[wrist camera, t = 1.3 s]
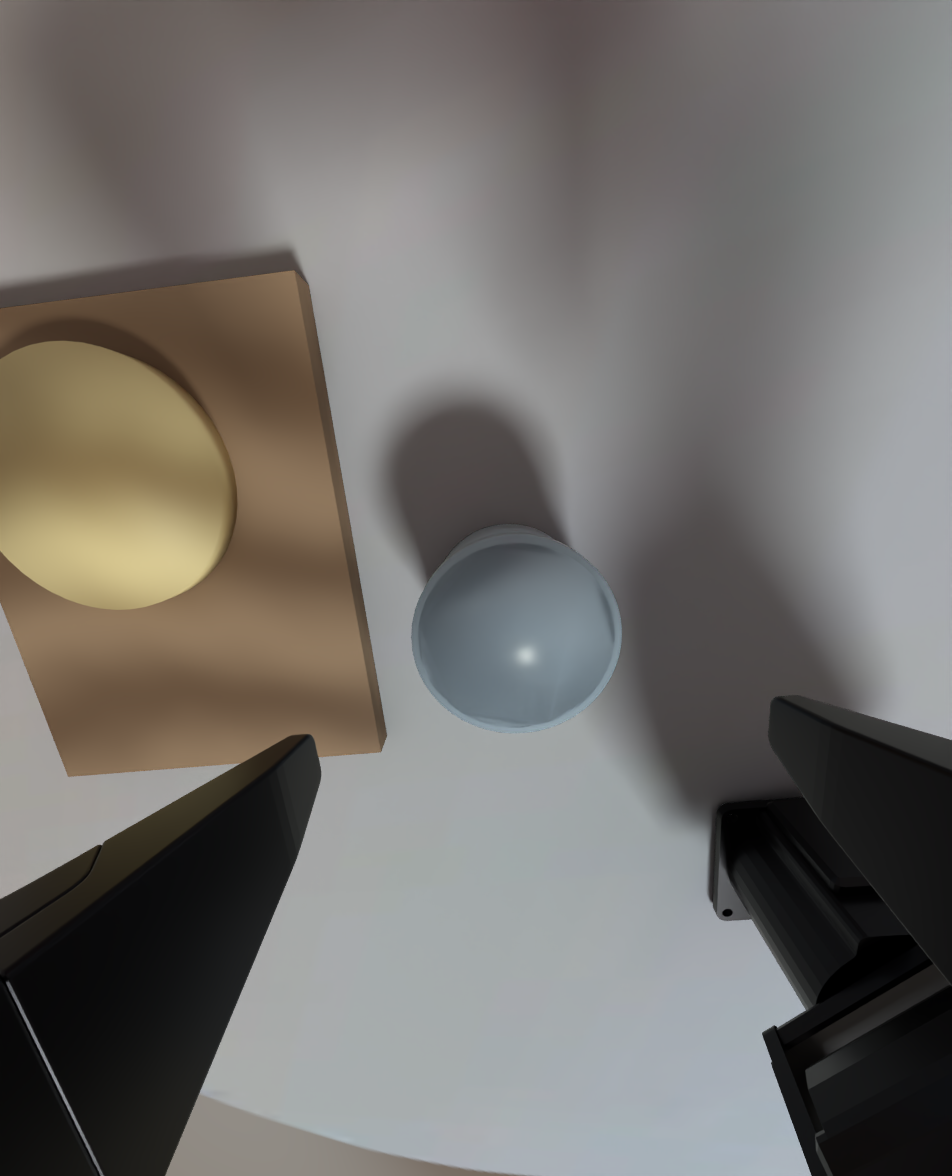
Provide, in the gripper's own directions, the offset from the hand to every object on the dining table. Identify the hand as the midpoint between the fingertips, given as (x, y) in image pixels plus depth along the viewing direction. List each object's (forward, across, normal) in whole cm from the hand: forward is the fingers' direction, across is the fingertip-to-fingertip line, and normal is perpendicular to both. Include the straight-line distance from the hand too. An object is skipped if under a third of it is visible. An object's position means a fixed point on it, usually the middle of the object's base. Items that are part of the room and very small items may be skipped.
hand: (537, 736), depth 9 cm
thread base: (+10, +13, -3) cm, 17 cm away
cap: (+10, 0, 0) cm, 10 cm away
